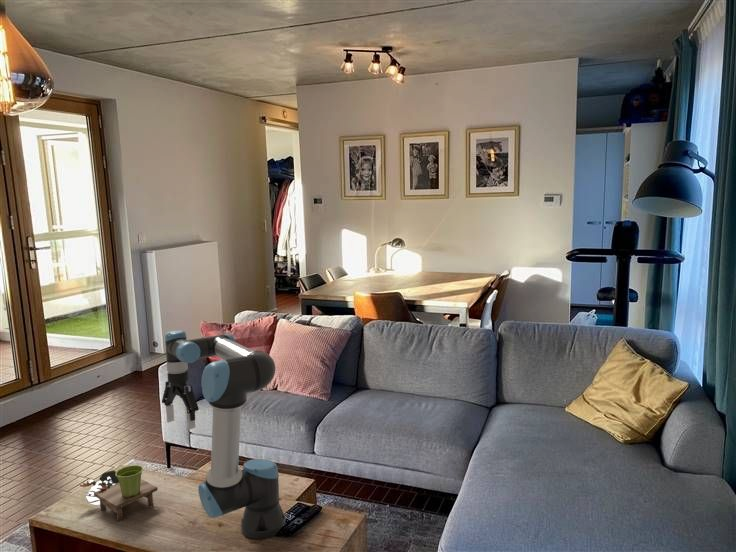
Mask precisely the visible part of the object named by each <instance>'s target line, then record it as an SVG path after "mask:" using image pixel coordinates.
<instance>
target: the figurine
mask: <svg viewBox="0 0 736 552" xmlns="http://www.w3.org/2000/svg"><path fill="white" fill-rule="evenodd" d="M116 472H117V471H116V470H109V471H106V472H104V473H102V474H101V475H100V477H99V481H98V480H96V481H95V480H94V479H89V481H88V480H87V481H86V483H85V482H82V483H83V484H79V486H80V487H81V488H85V487H89V486H91V488H90V489H89V490H88V492H87V493H86V497H85V498H86V501H87V503H89V504H91V505H95V506H100V499H99V498H97V497H95V496H94V493H95V492H97V491H99V490H107V489H108V488H110V487H109V486H112V485H114V484H116V483H119V480H118V478H117V476H116V475H115V473H116ZM92 485H93V486H92Z"/></svg>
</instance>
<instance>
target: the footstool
mask: <svg viewBox="0 0 736 552" xmlns="http://www.w3.org/2000/svg"><path fill="white" fill-rule="evenodd" d="M109 487H110V488H108V489H107V490H99V491H97V492H95V493H94V496H95V497H97V498H99V499H100V504H99V507H100V508H99V509H100V512H105V511H106V510H107V508H108V509H109V510H111V511H113V512H115V513H116V521H117V522H121V521H123V507H124V506H126V505H128V504H131V503H133V502H135V501H136V500H139V499H142V498H143V497H144V498H146V499H147V507H148V506H149V507H148V508H151V506H152V507H153V506H154V495H153V493H156V492H157V491H158V487H157V486H155V485H153V484H152V483H150V482H148V481H145V480H143V479H142V478H141V484H140V492H139V493H138V494H137V495H132V496H130V497H124V496H123V495H122V492H121V488H120V484H119V483H116V484H114V485H112V486H109Z"/></svg>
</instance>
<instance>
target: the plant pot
mask: <svg viewBox="0 0 736 552" xmlns="http://www.w3.org/2000/svg"><path fill="white" fill-rule="evenodd" d="M143 470H144V467H143V466H142V465H139V464H135V465H134V464H131V465H126V466H124V467H122V468H120V469H118V470H117V471H116V473H115V475H116V476H117V478H118V480H119V484H120V488H121V492H122V495H123V496H124V497H130V496H132V495H137V494H138V493H139V492H140V484H141V479H142V475H143Z"/></svg>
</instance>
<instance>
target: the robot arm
mask: <svg viewBox="0 0 736 552" xmlns="http://www.w3.org/2000/svg"><path fill="white" fill-rule="evenodd" d="M235 339H236V338H235V337H234V335H233V334H230V333H227V334H226V333H225V334H223V333H222V334H219V335H212V336H206V337H201V338H193V339H187V333H186V331H184V330H170V331H167V332H166V333H165V335H164V343H165V355H166V356H165V357H166V372H167V380H166V381H165V384H164V385H165V387H164V391H163V394H162V399H161V403H162V404H164V406H165V413H166V423H167V424H168V423H172V422H174V421H175V412H174V411H175V410H174V409H175V408H174V400H175V398H176V396H178V397H179V398H180V399H181V400H182V402H183V403H184V406H185V407H186V410H187V412H186V415H187V429H188V430H189V431H190V430H192V429H195V428H196V412H198V411H199V410H200V409H199V408H200V407H199V406H198V403H197V402H198V401H197V399H196V397H195V394H194V390H193V385H191V384H189V385H187V382H188V381H189V379H190V378H189V368H188V367H189V366H188V364H192V363H194V362H196V361H197V360H201V359H206V358H211V357H217V358H219V360H217V361H213V362H210V363H208V364H207V365H206V366H205V367H204V369H203V372H202V375H201V382H200V383H201V384H200V385H201V386H200V387H201V388H202V389H201V391H202V395H203V398H204V399H205V400H206V401H207V402H208V404H209V406H210V407H212V428H211V431H212V432H211V452H210V453H211V455H210V456H211V458H210V469H208V470H207V472H206V474H205V481H202V482H201V483H200V484H198V487H197V488H198V496H199V499H200V503H201V506H202V508H203V510H204V512H205V514H206V515H207V516H208V517H210V518H211V519H213V518H214V519H215V518H218V517H223V516H225V515H227V514H229V513H232V512H235V511H237V510H240V509H243V508H244V511H243V515H242V516H243V517H242V518H241V520H240V521H241V522H240V531H241V533H242V535H243V536H245V537H246V538H250V539H254V540H263V539H268V538H269V539H270V538H272V537H274V536H276V535H277V534H276V533H277V532H278V531H279V530H280V529H281V528H282V527H283V525H284V523H285V524H286V516H285V514H284V511H283V508H282V506H281V504H280V491H279V490H280V489H279V488H280V487H279V485H280V484H279V483H280V482H279V477H280V476H279V469H278V465H277V463H276V462H274V461H272V460H269V459H266V458H265V459H264V458H253V459H250V460H247V461H245V462H244V463H243V466H242V469H241V468H240V467H239V456H240V440H241V439H240V438H241V421H242V420H241V416H242V407H243V406H245V404H246V402H247V400H248V399H247V398H248V397H247V395H248V394H251V393H254V392H259V391H261V390H263V389H265V388H266V387H267V386H268V385H270V384H271V382H272V381H273V380H274V377H275V374H276V363H275V361H274V359H273V358H272V357H271V355H270V354H269V353H266V352H264V351H262V350H259V349H257V350H253V349H251V348H248V347H247V346H244V345H242V344H241V343H238V342H236V340H235Z"/></svg>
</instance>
